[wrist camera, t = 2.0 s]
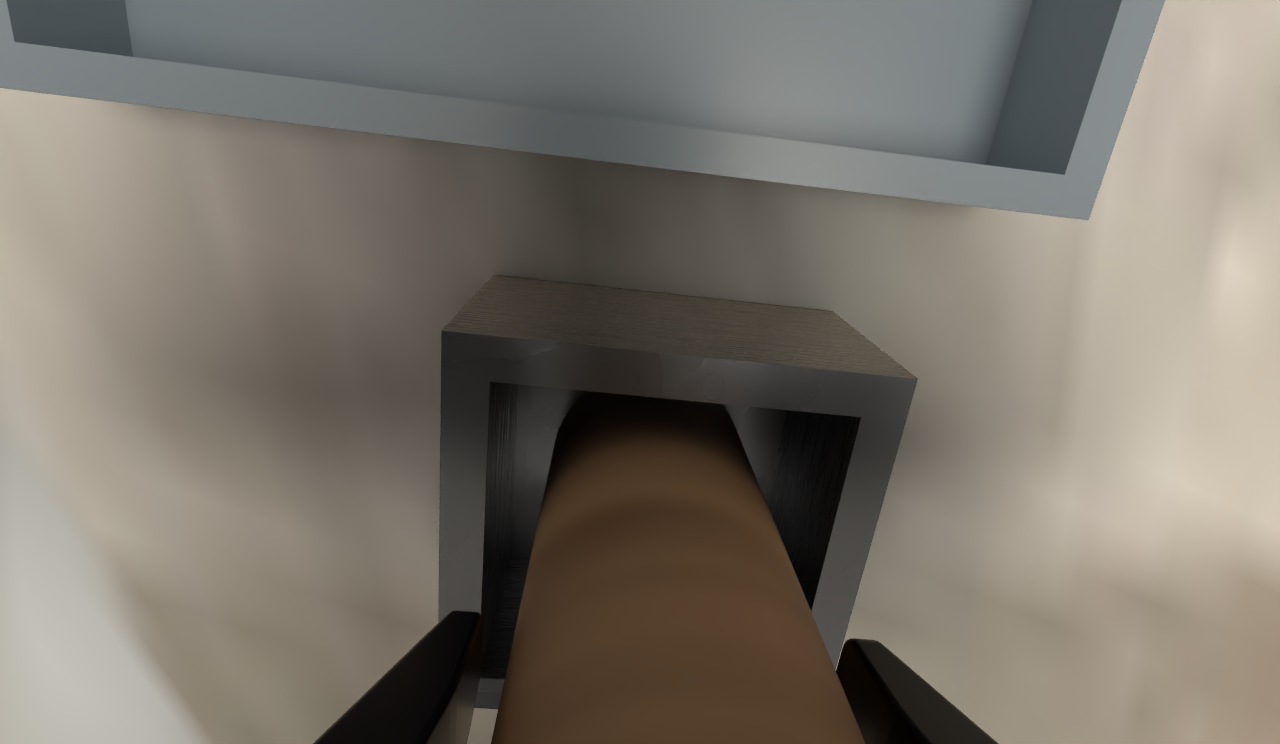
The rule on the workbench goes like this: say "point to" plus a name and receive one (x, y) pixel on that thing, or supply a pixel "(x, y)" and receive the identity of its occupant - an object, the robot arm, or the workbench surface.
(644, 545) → the dowel
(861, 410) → the box
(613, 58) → the tray
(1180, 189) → the workbench surface
